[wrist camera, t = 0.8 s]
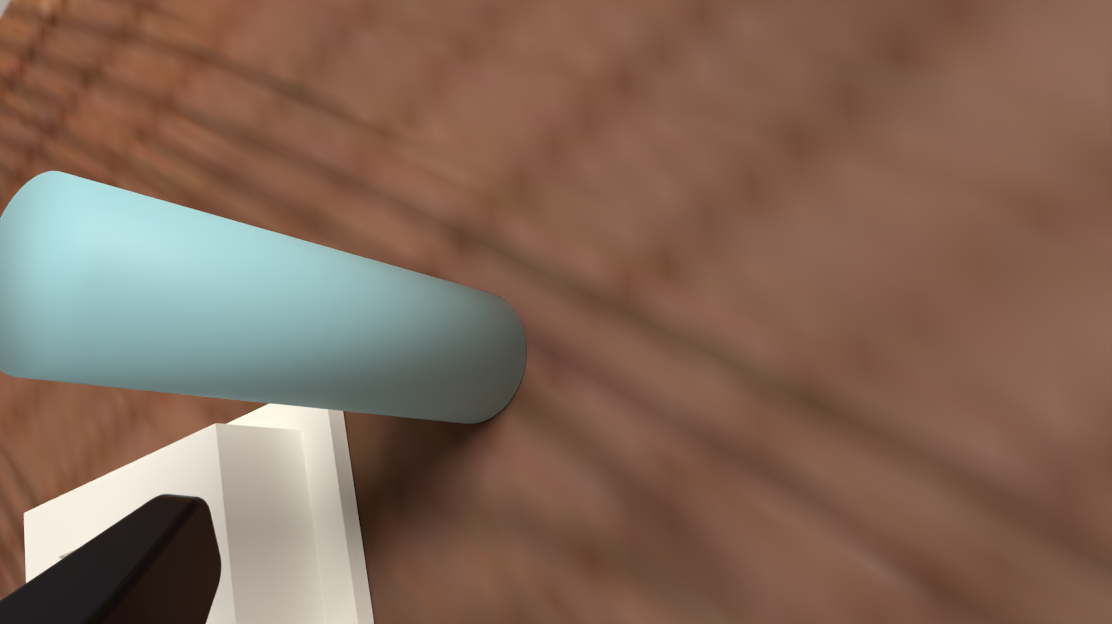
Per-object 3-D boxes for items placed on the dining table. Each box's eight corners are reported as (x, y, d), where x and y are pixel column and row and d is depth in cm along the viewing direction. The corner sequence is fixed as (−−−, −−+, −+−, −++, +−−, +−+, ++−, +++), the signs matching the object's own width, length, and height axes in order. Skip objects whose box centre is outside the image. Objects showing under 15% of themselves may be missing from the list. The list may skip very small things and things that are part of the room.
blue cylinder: (538, 399, 25) (100, 334, 16) (434, 440, 27) (-20, 404, 17) (511, 271, 26) (87, 136, 17) (412, 318, 28) (-23, 220, 18)
